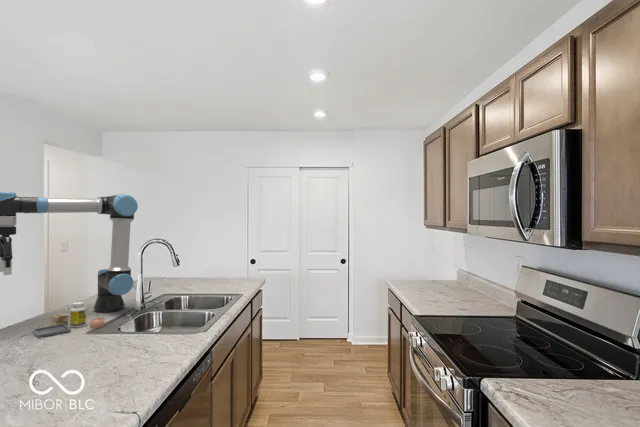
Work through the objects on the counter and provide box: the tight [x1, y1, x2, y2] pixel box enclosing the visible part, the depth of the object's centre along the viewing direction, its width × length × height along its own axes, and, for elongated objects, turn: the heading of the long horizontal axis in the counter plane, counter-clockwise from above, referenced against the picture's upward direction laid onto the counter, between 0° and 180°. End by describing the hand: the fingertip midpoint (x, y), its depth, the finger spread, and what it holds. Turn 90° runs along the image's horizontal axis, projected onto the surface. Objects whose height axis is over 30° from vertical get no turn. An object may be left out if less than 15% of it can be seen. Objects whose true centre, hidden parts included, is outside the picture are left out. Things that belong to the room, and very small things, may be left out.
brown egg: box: [89, 317, 106, 330], centre depth 178 cm, size 6×6×4 cm
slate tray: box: [32, 324, 72, 339], centre depth 169 cm, size 12×12×2 cm
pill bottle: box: [69, 301, 87, 328], centre depth 179 cm, size 6×6×11 cm
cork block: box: [50, 313, 69, 326], centre depth 180 cm, size 5×5×5 cm
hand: (5, 273), depth 168 cm, fingers open, 13 cm apart
